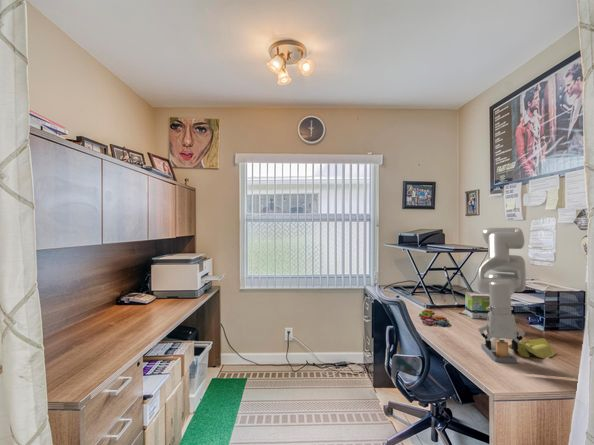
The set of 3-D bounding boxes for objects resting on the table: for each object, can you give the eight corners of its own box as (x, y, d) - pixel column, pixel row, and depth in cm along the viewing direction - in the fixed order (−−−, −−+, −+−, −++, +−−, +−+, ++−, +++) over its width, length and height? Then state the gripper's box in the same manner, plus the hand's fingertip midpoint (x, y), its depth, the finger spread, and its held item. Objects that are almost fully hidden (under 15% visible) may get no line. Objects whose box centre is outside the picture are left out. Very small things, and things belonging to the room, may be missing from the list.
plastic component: (524, 340, 142) (547, 337, 134) (532, 357, 138) (556, 355, 131) (502, 346, 132) (526, 342, 125) (510, 363, 129) (535, 361, 121)
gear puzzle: (416, 311, 203) (416, 306, 203) (441, 313, 198) (441, 307, 198) (423, 326, 172) (423, 319, 173) (453, 328, 168) (453, 321, 168)
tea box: (472, 318, 184) (471, 295, 184) (465, 314, 194) (464, 291, 194) (497, 319, 182) (497, 295, 183) (489, 314, 192) (488, 292, 193)
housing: (480, 348, 138) (480, 343, 138) (501, 350, 136) (501, 345, 136) (493, 363, 123) (493, 357, 123) (518, 366, 121) (518, 360, 121)
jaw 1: (498, 360, 124) (497, 341, 124) (494, 355, 128) (493, 338, 129) (510, 361, 123) (509, 342, 123) (505, 356, 127) (505, 338, 127)
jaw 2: (487, 348, 136) (486, 331, 136) (497, 349, 135) (497, 332, 135) (490, 352, 132) (490, 335, 132) (501, 353, 131) (501, 335, 131)
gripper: (481, 311, 125) (482, 351, 124) (528, 313, 120) (529, 355, 120) (475, 306, 132) (476, 344, 132) (519, 308, 128) (520, 348, 127)
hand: (501, 349), depth 126 cm, fingers open, 9 cm apart
